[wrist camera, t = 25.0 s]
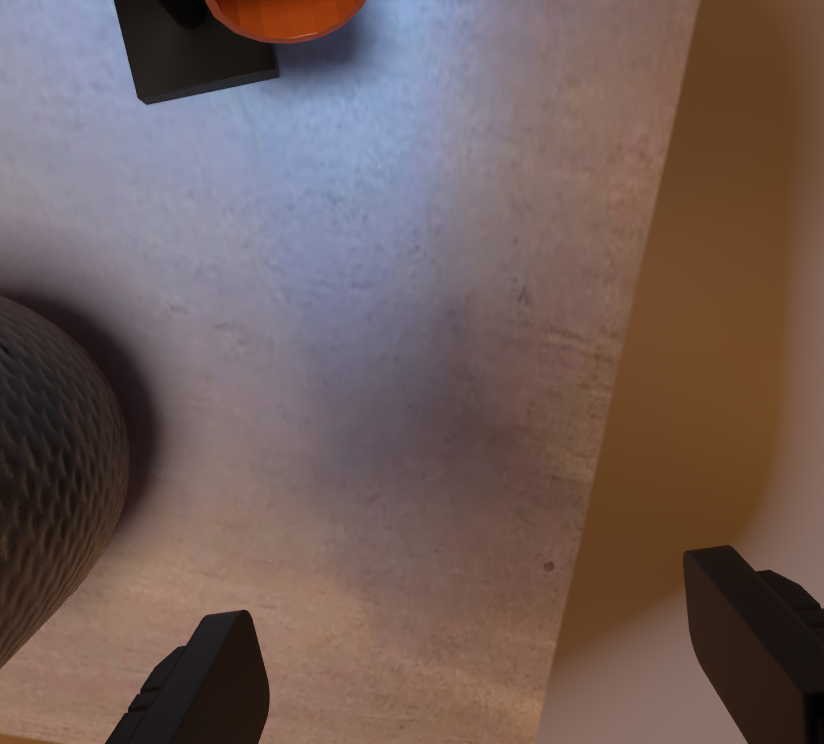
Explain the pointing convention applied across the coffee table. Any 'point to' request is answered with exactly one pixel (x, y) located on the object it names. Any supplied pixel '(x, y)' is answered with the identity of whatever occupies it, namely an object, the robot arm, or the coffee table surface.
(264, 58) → the hook stand
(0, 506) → the planter
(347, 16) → the mug
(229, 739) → the robot arm
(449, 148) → the coffee table surface
